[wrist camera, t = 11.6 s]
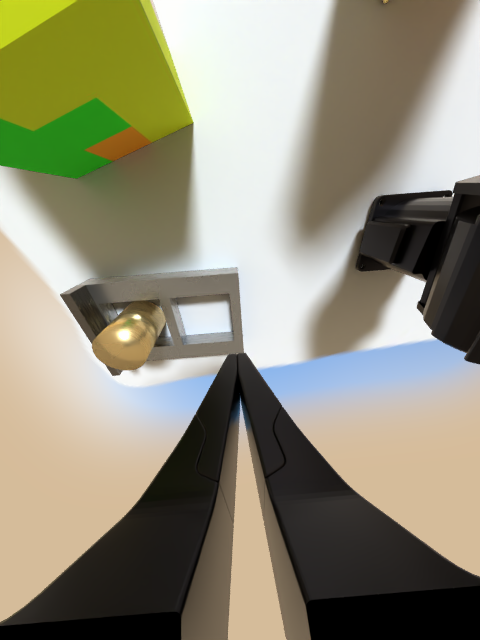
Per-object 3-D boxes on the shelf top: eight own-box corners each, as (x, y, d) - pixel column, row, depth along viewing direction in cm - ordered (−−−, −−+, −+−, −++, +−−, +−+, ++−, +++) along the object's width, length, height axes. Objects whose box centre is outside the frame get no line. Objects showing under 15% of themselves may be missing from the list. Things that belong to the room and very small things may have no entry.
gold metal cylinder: (158, 298, 20) (134, 329, 15) (170, 330, 22) (153, 367, 17) (118, 303, 20) (81, 335, 15) (135, 335, 22) (107, 372, 17)
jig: (237, 267, 18) (239, 280, 15) (242, 343, 24) (244, 364, 21) (89, 278, 18) (59, 294, 15) (128, 352, 24) (112, 375, 21)
